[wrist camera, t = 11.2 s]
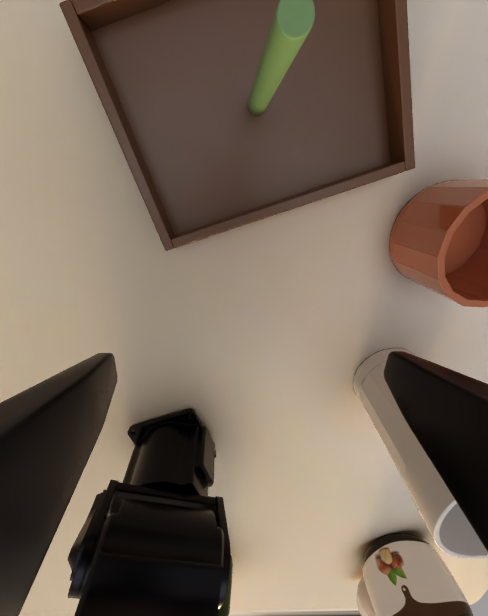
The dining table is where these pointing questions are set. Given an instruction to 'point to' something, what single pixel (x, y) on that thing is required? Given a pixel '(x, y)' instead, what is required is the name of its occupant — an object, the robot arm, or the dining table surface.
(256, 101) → the straw
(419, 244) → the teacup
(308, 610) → the dining table surface
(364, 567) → the spread jar
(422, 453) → the cup
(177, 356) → the dining table surface
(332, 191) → the tray
